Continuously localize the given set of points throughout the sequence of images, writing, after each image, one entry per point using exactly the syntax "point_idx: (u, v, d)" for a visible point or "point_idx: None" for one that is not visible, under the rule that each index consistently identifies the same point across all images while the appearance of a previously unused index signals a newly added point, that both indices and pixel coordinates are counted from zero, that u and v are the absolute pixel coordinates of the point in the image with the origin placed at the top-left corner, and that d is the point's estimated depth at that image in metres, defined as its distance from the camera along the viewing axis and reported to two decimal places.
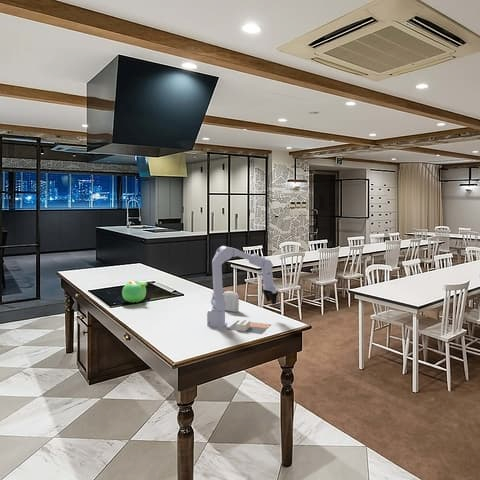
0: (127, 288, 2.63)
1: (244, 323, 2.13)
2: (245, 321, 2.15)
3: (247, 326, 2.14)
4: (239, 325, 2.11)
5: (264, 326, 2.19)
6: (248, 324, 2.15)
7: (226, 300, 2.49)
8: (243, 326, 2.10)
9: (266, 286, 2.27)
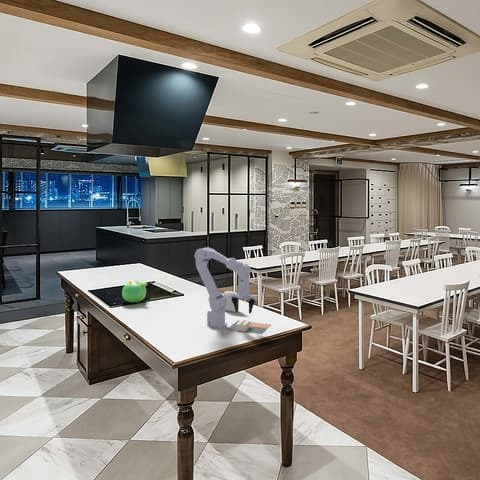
0: (127, 288, 2.63)
1: (244, 323, 2.13)
2: (245, 321, 2.15)
3: (247, 326, 2.14)
4: (239, 325, 2.11)
5: (264, 326, 2.19)
6: (248, 324, 2.15)
7: None
8: (243, 326, 2.10)
9: None
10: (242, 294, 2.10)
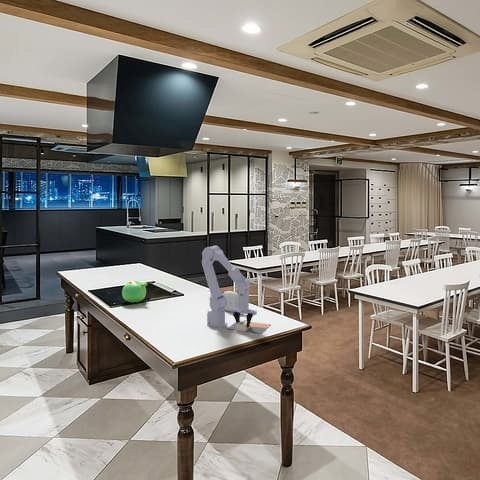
0: (127, 288, 2.63)
1: (244, 323, 2.13)
2: (245, 321, 2.15)
3: None
4: (239, 325, 2.11)
5: (264, 326, 2.19)
6: None
7: None
8: (243, 326, 2.10)
9: None
10: (242, 308, 2.11)
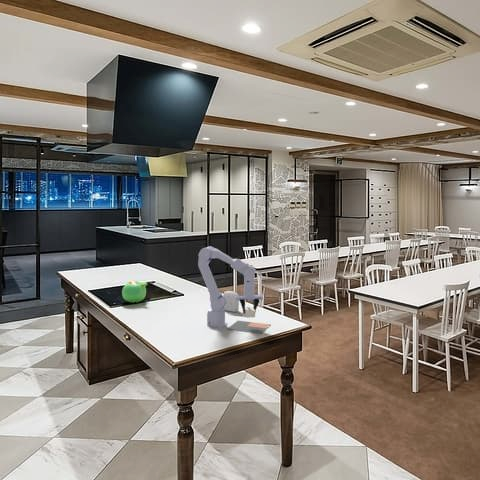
0: (127, 288, 2.63)
1: (252, 309, 2.14)
2: (250, 308, 2.17)
3: None
4: (249, 312, 2.12)
5: (264, 326, 2.19)
6: None
7: (226, 300, 2.49)
8: (253, 312, 2.12)
9: None
10: (251, 294, 2.12)
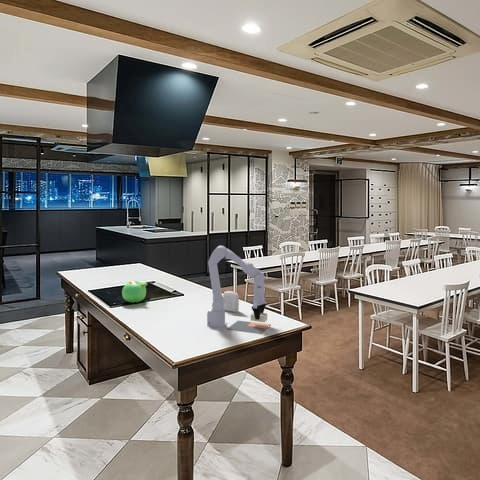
0: (127, 288, 2.63)
1: (262, 313, 2.21)
2: None
3: None
4: (265, 316, 2.18)
5: (264, 326, 2.19)
6: None
7: (226, 300, 2.49)
8: (266, 315, 2.20)
9: (254, 299, 2.18)
10: (264, 299, 2.19)
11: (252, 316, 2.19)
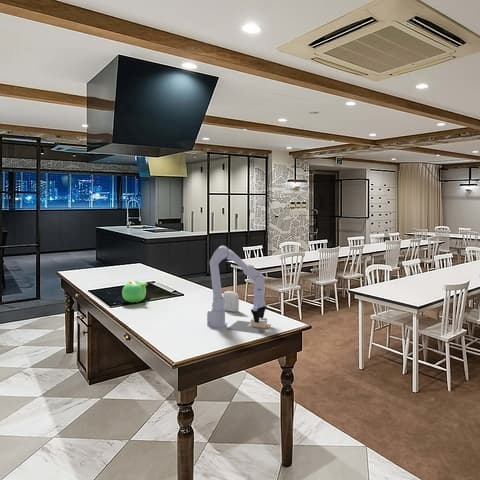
0: (127, 288, 2.63)
1: (262, 318, 2.21)
2: None
3: None
4: (265, 321, 2.18)
5: None
6: None
7: (226, 300, 2.49)
8: (266, 320, 2.21)
9: (254, 302, 2.19)
10: (264, 301, 2.19)
11: (252, 321, 2.19)
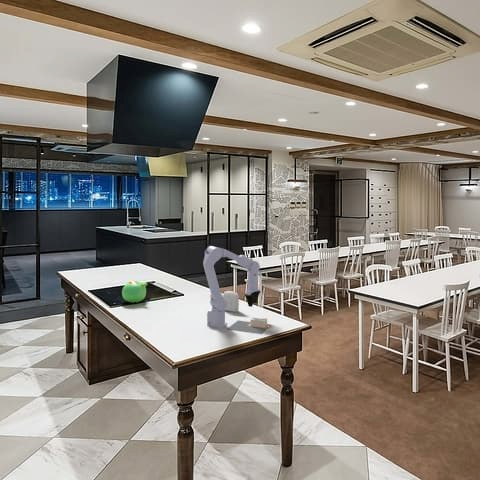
0: (127, 288, 2.63)
1: (262, 318, 2.21)
2: (257, 318, 2.21)
3: None
4: (265, 321, 2.18)
5: None
6: None
7: (226, 300, 2.49)
8: (266, 320, 2.21)
9: (248, 287, 2.28)
10: (257, 286, 2.28)
11: (252, 321, 2.19)
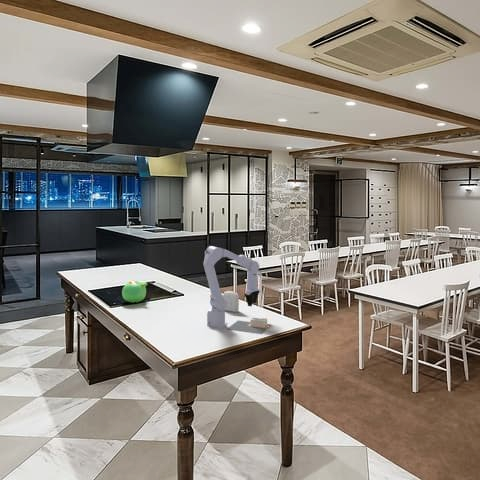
0: (127, 288, 2.63)
1: (262, 318, 2.21)
2: (257, 318, 2.21)
3: None
4: (265, 321, 2.18)
5: None
6: None
7: (226, 300, 2.49)
8: (266, 320, 2.21)
9: (247, 286, 2.28)
10: (257, 286, 2.28)
11: (252, 321, 2.19)
